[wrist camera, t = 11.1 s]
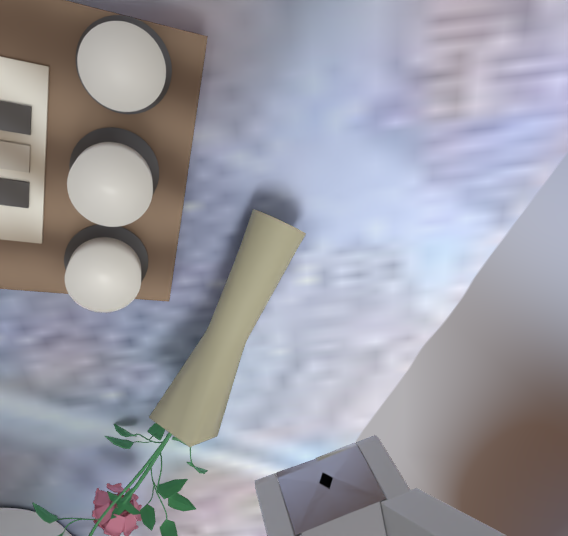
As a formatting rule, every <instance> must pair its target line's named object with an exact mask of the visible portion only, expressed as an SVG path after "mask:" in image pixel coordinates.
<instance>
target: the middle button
mask: <svg viewBox="0 0 568 536" xmlns="http://www.w3.org/2000/svg"><path fill="white" fill-rule="evenodd" d="M67 190H68V194H69V198H70V200H71V202H72V204H73V205H74V207H75V208H76V210H77V211H78V212H79V213H80V214H81V215H82V216H84V217H85V218H86V219H88V220H89V221H91V222H93V223H96V224H99V225H102V226H107V227H119V226H124V225H127V224H130V223H132V222H134V221H136V220H137V219H139V218H140V217H141V216H142V215H143V214H144V213H145V212H146V210H147V209H148V207H149V205H150V203H151V200H152V195H153V182H152V174H151V171H150V168H149V166H148V164H147V162H146V161H145V160H144V158H143V157H142V156H141V155H140V154H139V153H138V152H137V151H135V150H134V149H132V148H130V147H128V146H126V145H124V144H121V143H116V142H102V143H98V144H95V145H92V146H90V147H88V148H87V149H85V150H84V151H83V152H82V153H81V154H80V155H79V156H78V158H77V159H76V161H75V162H74V164H73V165H72V167H71V169H70V171H69V174H68V179H67Z"/></svg>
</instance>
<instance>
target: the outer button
mask: <svg viewBox="0 0 568 536" xmlns="http://www.w3.org/2000/svg"><path fill="white" fill-rule="evenodd" d="M77 65H78V71H79V75H80V78H81V80H82V83H83V84H84V86H85V88H86V89H87V91H88V92H89V93H90V94H91V96H92V97H93V98H94V99H96V100H97V101H98V102H99V103H101V104H102V105H104V106H106V107H108V108H110V109H113V110H116V111H121V112H133V111H138V110H141V109H143V108H146V107H147V106H149V105H150V104H152V103H153V102H154V101H155V100H156V99H157V98H158V96H159V95H160V93H161V91H162V89H163V87H164V84H165V79H166V65H165V60H164V57H163V54H162V52H161V50H160V48H159V46H158V44H157V43H156V42H155V40H154V39H153V38H152V37H151V36H150V35H149V34H148V33H147V32H146V31H144V30H143V29H141V28H140V27H138V26H136V25H134V24H131V23H128V22H124V21H108V22H104V23H102V24H99V25H97V26H96V27H94V28H93V29H91V30H90V31H89V32H88V33H87V34H86V36H85V37H84V39H83V40H82V42H81V44H80V47H79V51H78V57H77Z"/></svg>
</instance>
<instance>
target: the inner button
mask: <svg viewBox="0 0 568 536" xmlns="http://www.w3.org/2000/svg"><path fill="white" fill-rule="evenodd" d="M65 286H66V289H67V292H68V293H69V295H70V297H71V298H72V299H73V300H74V301H75V302H76V303H77V304H78V305H80V306H82V307H83V308H85V309H88V310H91V311H95V312H113V311H117V310H120V309H122V308H124V307H126V306H127V305H129V304H130V303H131V302H132V301H133V300H134V299H135V297H136V296H137V294H138V292H139V290H140V286H141V263H140V260H139V257H138V255H137V254H136V252H135V251H134V250H133V249H132V248H131V247H130V246H129V245H127V244H126V243H124V242H122V241H120V240H118V239H114V238H109V237H99V238H94V239H91V240H88V241H86V242H84V243H82V244H81V245H80V246H79V247H77V249H76V250H75V251H74V252H73V254H72V256H71V258H70V261H69V263H68V266H67V269H66V272H65Z"/></svg>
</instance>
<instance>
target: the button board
mask: <svg viewBox="0 0 568 536" xmlns="http://www.w3.org/2000/svg"><path fill="white" fill-rule="evenodd" d="M108 21H124V22H128V23H131V24H134V25H136V26H138V27H140V28H141V29H143V30H144V31H146V32H147V33H148V34H149V35H150V36H151V37H152V38H153V39H154V40H155V42H156V43H157V44H158V46H159V48H160V50H161V52H162V54H163V57H164V60H165V65H166V79H165V84H164V87H163V89H162V91H161V93H160V95H159V96H158V98H157V99H156V100H155V101H154V102H153V103H152V104H150V105H149V106H147V107H146V108H143V109H141V110H138V111H133V112H121V111H116V110H113V109H110V108H108V107H106V106H104V105H102V104H101V103H99V102H98V101H97V100H96V99H94V98H93V97H92V96H91V94H90V93H89V92H88V91H87V89H86V88H85V86H84V84H83V83H82V80H81V78H80V75H79V71H78V65H77V57H78V51H79V47H80V44H81V42H82V40H83V39H84V37H85V36H86V34H87V33H88V32H89V31H90V30H91V29H93V28H94V27H96V26H97V25H99V24H102V23H104V22H108ZM207 37H208V36H204V35H200V34H196V33H192V32H188V31H184V30H180V29H176V28H172V27H168V26H164V25H160V24H156V23H153V22H149V21H145V20H141V19H137V18H133V17H130V16H125V15H121V14H117V13H113V12H109V11H105V10H101V9H97V8H93V7H89V6H85V5H81V4H77V3H74V2H70V1H66V0H0V289H12V290H25V291H38V292H51V293H65V294H69V293H68V292H67V289H66V286H65V272H66V269H67V266H68V263H69V261H70V258H71V256H72V254H73V252H74V251H75V250H76V249H77V247H79V246H80V245H81V244H82V243H84V242H86V241H88V240H91V239H94V238H99V237H109V238H114V239H118V240H120V241H122V242H124V243H126V244H127V245H129V246H130V247H131V248H132V249H133V250H134V251H135V252H136V254H137V255H138V257H139V260H140V263H141V286H140V290H139V292H138V294H137V296H136V297H135V299H144V300H158V301H169V299H170V292H171V285H172V278H173V271H174V265H175V258H176V251H177V244H178V237H179V230H180V223H181V216H182V209H183V202H184V196H185V189H186V182H187V175H188V168H189V161H190V154H191V147H192V140H193V133H194V126H195V120H196V113H197V106H198V99H199V92H200V85H201V78H202V71H203V64H204V57H205V51H206V44H207ZM102 142H116V143H121V144H124V145H126V146H128V147H130V148H132V149H134V150H135V151H137V152H138V153H139V154H140V155H141V156H142V157H143V158H144V160H145V161H146V162H147V164H148V166H149V168H150V171H151V174H152V182H153V195H152V200H151V203H150V205H149V207H148V209H147V210H146V212H145V213H144V214H143V215H142V216H141V217H140V218H139V219H137V220H136V221H134V222H132V223H130V224H127V225H124V226H119V227H107V226H102V225H99V224H96V223H93V222H91V221H89V220H88V219H86V218H85V217H84V216H82V215H81V214H80V213H79V212H78V211H77V210H76V208H75V207H74V205H73V204H72V202H71V200H70V198H69V194H68V190H67V179H68V174H69V171H70V169H71V167H72V165H73V164H74V162H75V161H76V159H77V158H78V156H79V155H80V154H81V153H82V152H83V151H84V150H85V149H87V148H88V147H90V146H92V145H95V144H98V143H102Z"/></svg>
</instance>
